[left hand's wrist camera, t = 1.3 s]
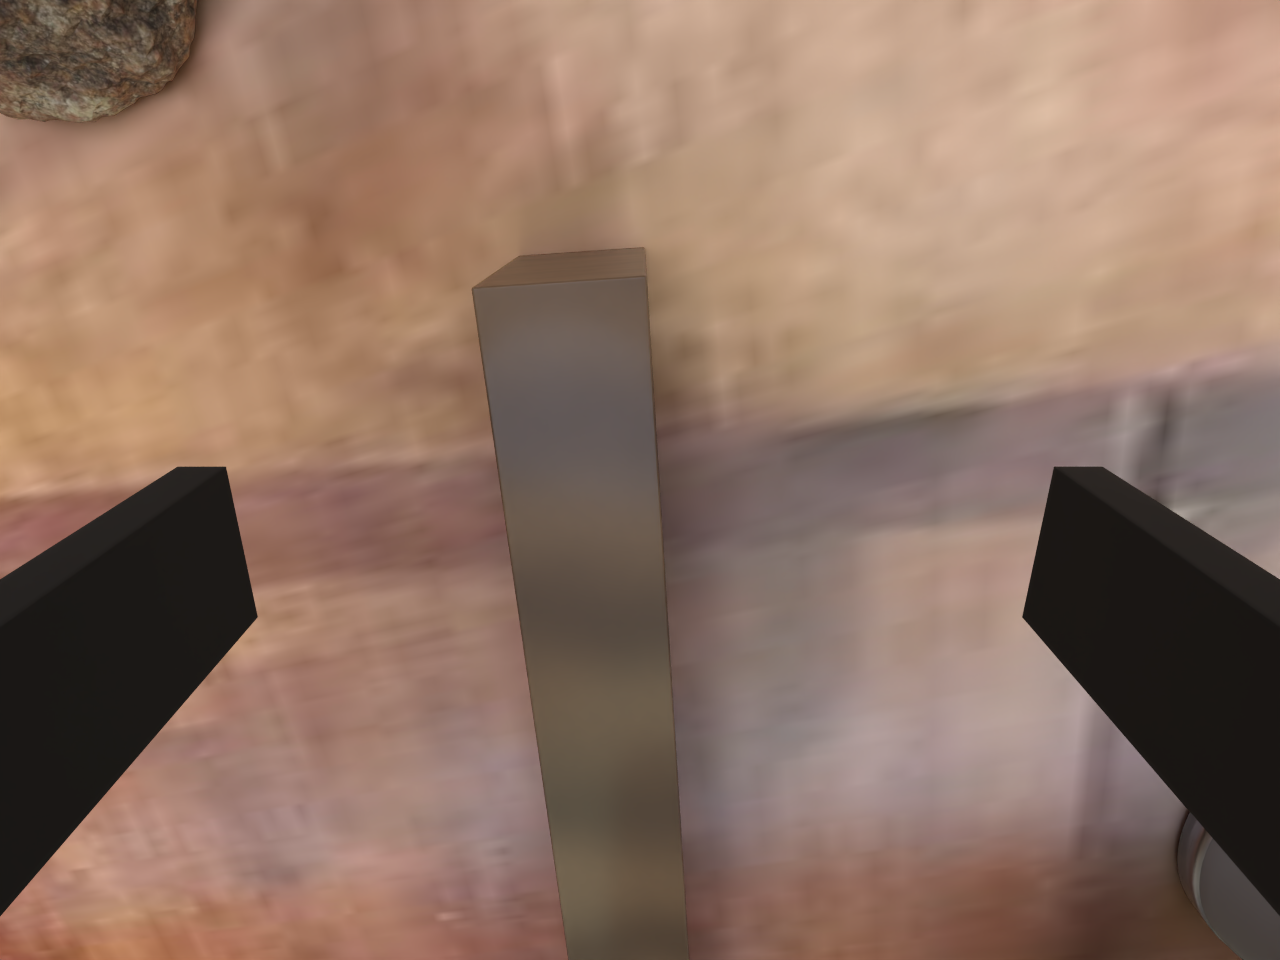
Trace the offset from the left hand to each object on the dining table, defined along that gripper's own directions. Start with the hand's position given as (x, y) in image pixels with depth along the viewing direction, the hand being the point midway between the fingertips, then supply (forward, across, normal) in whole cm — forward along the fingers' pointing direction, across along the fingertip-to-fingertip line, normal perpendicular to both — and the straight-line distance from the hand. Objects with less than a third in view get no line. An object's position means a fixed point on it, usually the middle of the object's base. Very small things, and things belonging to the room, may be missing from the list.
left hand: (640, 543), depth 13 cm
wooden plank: (+17, 0, -27) cm, 32 cm away
